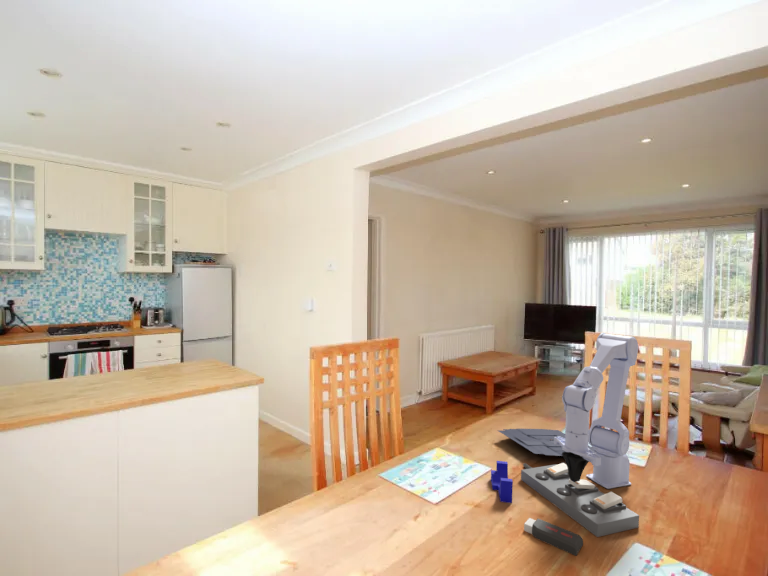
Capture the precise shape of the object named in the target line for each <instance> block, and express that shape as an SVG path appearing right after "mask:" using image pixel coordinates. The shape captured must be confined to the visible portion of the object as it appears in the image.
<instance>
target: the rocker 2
mask: <svg viewBox="0 0 768 576" xmlns="http://www.w3.org/2000/svg"><path fill="white" fill-rule="evenodd" d="M593 500H594V503H595V504H597V505H598V506H600V507H601V508H603V509H607V508H609V507H611V506H614V505H616V504H618V503H623V497H621V496H620V495H618V494H616V492H615V493H614V492H613V491H609V492H607V493H604V495H602V496H599V497H597V498H594V499H593Z"/></svg>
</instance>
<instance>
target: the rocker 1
mask: <svg viewBox="0 0 768 576" xmlns="http://www.w3.org/2000/svg"><path fill="white" fill-rule="evenodd" d="M554 465H555V464H554ZM547 472H548V473H550V474H551V475H553V476H554V477H555V476H559V475H562V474H564V473H567V472H568V468H567V464H566V462H561V463H559V464H557V465H555V466H553V467H550V468H547Z"/></svg>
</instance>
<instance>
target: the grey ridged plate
mask: <svg viewBox="0 0 768 576" xmlns="http://www.w3.org/2000/svg"><path fill="white" fill-rule="evenodd" d="M496 431H497V432H499V433H501V435H504V436H505V437H507V438H508V439H510V440H512V441H514V442H516V443H517V444H519V445H520V446H521V447H523V448H525V449H526V450H528V451H530V452H532V453H533V454H535V455H538V454H539V455H545V456H555V457H558V456H559V457H560V456H561V457H563V456H562V452H566V451H564V450H562V446H560V445H556V444H554V437H558V436H560V437H562V438H565V432H562V431H560V430H558V429H548V428H547V429H546V428H509V429H508V428H506V429H505V428H503V430H499V429H498V430H496ZM588 448H589V449H590V450H591V451H592V452H594V450H593V449H592V446H591V445H588Z"/></svg>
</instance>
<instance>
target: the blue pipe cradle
mask: <svg viewBox="0 0 768 576" xmlns="http://www.w3.org/2000/svg"><path fill="white" fill-rule="evenodd" d="M508 464H509V463H508V461H501V460H496V468H495V469H496V470H492V469H491V470H490V483H491V488H492V490H494V491H497V492H498V497H499V502H500V503H508V504H512V503H513V483H514V482H513V479H512V478H509V472H508V471H509V470H508V469H509V468H508Z"/></svg>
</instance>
